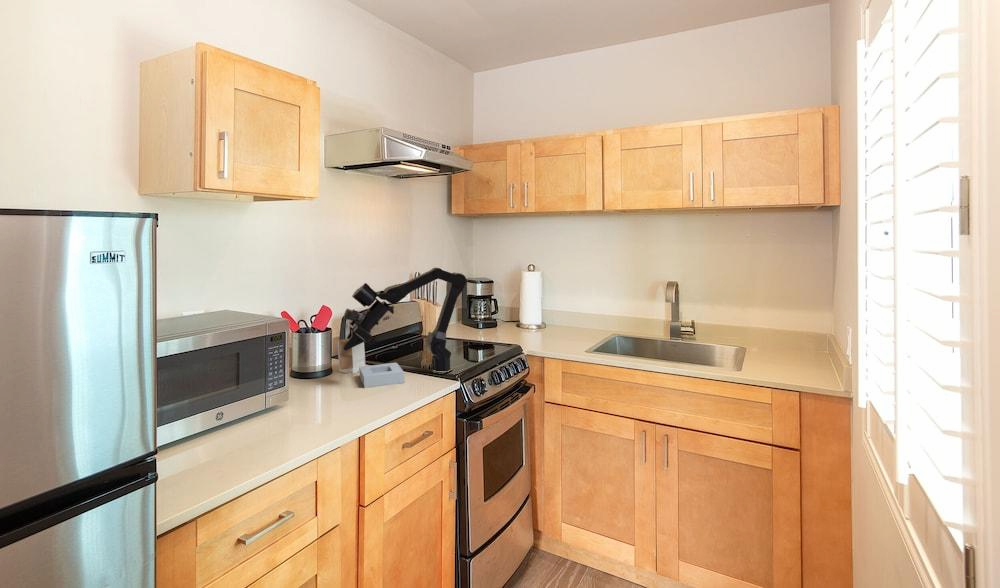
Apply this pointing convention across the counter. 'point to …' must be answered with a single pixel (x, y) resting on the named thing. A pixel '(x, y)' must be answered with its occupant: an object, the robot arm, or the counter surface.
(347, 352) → the walnut post
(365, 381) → the well block
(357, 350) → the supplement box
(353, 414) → the counter surface
